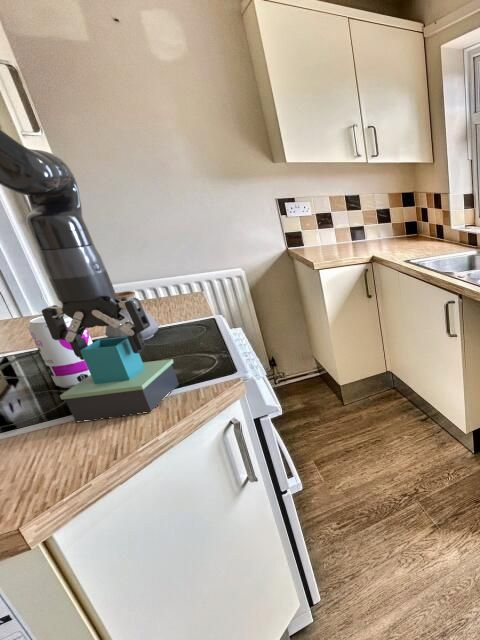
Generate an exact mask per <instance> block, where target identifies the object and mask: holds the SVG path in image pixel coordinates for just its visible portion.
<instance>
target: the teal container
mask: <svg viewBox="0 0 480 640" xmlns="http://www.w3.org/2000/svg"><path fill="white" fill-rule="evenodd" d="M80 352H81V354H82V356H83V358H84V361H85V363H86V365H87V367H88V370H89V372H90V374H91V376H92V379H93V381H94V383H95V384H101V383H109V382H117V381H126V380H130V379H132V378H133V377H134V376H135V375H137V374H138V373H139V372H140V371H142V370H143V369H144V368H145V367H144V365H143V362H144V361H143V360H142V357H141V354H140V353H133V350H132V348H131V345H130V343H129V340H128V338H127V337H120V338H102V339H101V338H100V339H97V340H94V342H93V343H92V344H90V345H88V346H87V347H85V348H83V349H81V350H80Z"/></svg>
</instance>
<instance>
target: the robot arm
mask: <svg viewBox="0 0 480 640" xmlns="http://www.w3.org/2000/svg"><path fill="white" fill-rule="evenodd" d="M0 185H1V186H2V187H4V188H6V189H8V190H10V191H12V192H14V193H16V194H20V195H23V196H27V199H28V203H29V206H30V213H28V215H26V218H25V222H26V226H27V229H28V232H29V233H30V236H31V238H32V240H33V243H34V244H35V247H36V249H37V251H38V254H39V259H40V261H41V264H42V267H43V269H44V272H45V274H46V275H47V278H48V280H49V282H50V285H51V286H52V289H53V291H54V293H55V295H56V297H57V300H58V301H59V302H61V303H62V305H61V306H58V305H56V304H54V305H50V306H48V307H45V308H43V309H42V310H41V314H42V316H44V319H45V321H46V324H47V326H48V329H49V331H50V334H51V337H52V338H53V339H54V340H59V339H60V340H66V341H68V342H69V343H70V345H71V347H72V349H73V351H74V353H75V355H76V356H77V357H79V358H80V359H81V360H84V358H83V356H82V354H81V352H80V350H81V349H83V348H85V347H87V346H88V344H87V342H86V340H85V338H81V336H82V335H83V333H84V330H85V329H86V328H87V329H90V328H94V327H107V326H108V325H111V326H112V327H114V328H116V329H120V330H121V331H123V332H124V333H126V334H127V335H129V336H127V338H128V340H129V343H130V345H131V348H132V350H133V353H139V354H140V353H142V352H143V351H144V349H145V348H146V343H145V340H143V338H142V335H141V331H143V330H145V329H146V328H148V327H149V326H150V323H149V321H148V318H147V316H146V314H145V312H144V310H145V309H144V307H143V306H142V303H141V301H140V299H139V298H137V297H134V298H133V299H131V300H128V301H121V302H120V301H119V300H118V299H117V298H116V296H115V293H116V291H115V288H114V286H113V283H112V281H111V278H110V276H109V273H108V271H107V268H106V266H105V263H104V261H103V259H102V256H101V254H100V253H99V251H98V249H97V247H96V245H95V244H94V241H93V238H92V236H91V234H90V230H89V228H88V226H87V224H86V222H85V220H84V217H83V209H82V207H83V206H82V202H81V196H80V191H79V186H78V183H77V180H76V178H75V175H74V173H73V171H72V170H71V168H70V167H69V166H68V164H67V163H66V162H65V161H64V160H63V159H62V158H60V157H59V156H58V155H56V154H54V153H51V152H49V151H46V150H42V149H41V150H40V149H31V148H30V149H29V148H27V146H24V145H23V144H21V143H20V142H18V141H17V140H16V139H14V138H13V137H12V136H10V135H9V134H8V133H6V132H5V131H3V128H2V125H1V124H0ZM121 308H123V309H124V310H125V311H126V312H128V313H129V315H130V317H131V319H132V321H133V322H132V321H130V318H128V317H127V316H125V315H124V314H122V313H121V312H120V311H121ZM143 309H144V310H143ZM64 314H65V315H67V316H68V317H70V318H71V319H73V320H72V322H71V324H70V326H69V328H68V329H67V326H66V323H65V321H64V318H63V317H64ZM116 319H118V320H119V321H117V320H116ZM68 330H69V331H68Z"/></svg>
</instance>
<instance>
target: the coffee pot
mask: <svg viewBox="0 0 480 640" xmlns="http://www.w3.org/2000/svg"><path fill="white" fill-rule="evenodd" d="M135 295H136V292H135V291H120V292H115V296H116V298H117V299H118V300H119V301H120V302H121V301H128V300H131V299H133V298H135ZM143 310H144V312H145V314H146V316H147V318H148V321H149V323H150V326H149V327H148V328H146V329H145V330H143V331H141V335H142V338H143V340H144V341H146V340H149V339H151V338H153V337H154V336H155V334H156V333H157V332H158V330H159V326H160V324H159V322H158V321H156V320H155V318H154V317H153V316H152V315H150V314H149V313H148V311H146V310H145V309H144V308H143ZM120 312H121V313H122V314H124V315H125V316H127V317H128V318H130V321H132V319H131V317H130V315H129V313H128V312H126V311H125V310H124V309H123V308H121V311H120ZM116 320H117V321H119V320H118V319H116ZM132 322H133V321H132ZM105 327H106V328H105V332H104V334H105V336H106V337H107V339H110V338H120V337H127V336H129V335H127V334H126V333H124V332H123V331H121V330H120V329H116V328H114V327H112V326H111V325H108V326H105Z"/></svg>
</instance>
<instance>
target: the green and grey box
mask: <svg viewBox="0 0 480 640" xmlns="http://www.w3.org/2000/svg"><path fill="white" fill-rule="evenodd" d="M142 362H143V365H144V367H145V368H144V369H143V370H142V371H140V372H139V373H138V374H137V375H135V376H134V377H133V378H132V379H130V380H126V381H117V382H109V383H101V384H95V383H94V381H93V379H92V376H91V375H90V376H88V377H87V378H85V379H84V380H82V381H81V382H79V383H78V384H76V385H75V386H73V387H71V388H68V389H67V390H66V391H65V392H63V393H62V394H60V395H59V398H60V400H65V403H66V404H67V406H68V408H69V411H70V413H71V415H72V417H73V419H74V421H75V423H76V422H77V421H84V420H94V419H101V418H109V417H117V418H119V417H118V416H123V415H130V414H137V413H143V412H151V411H152V410H153V409H154V408H155V407H156V406H157V405H158V404H159V403H160V402H161V401H162V399H163V398H164V397H165V396H166V395H167V394H168V393H169V392H171V391H172V390H173V389H175V388H176V389H177V388H178V387H179V386H180V383H179V380H178V378H177V375H176V371H175V369H174V367H173V364H174V359H173V358H171V359H161V360H152V361H142ZM176 389H175V390H176Z"/></svg>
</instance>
